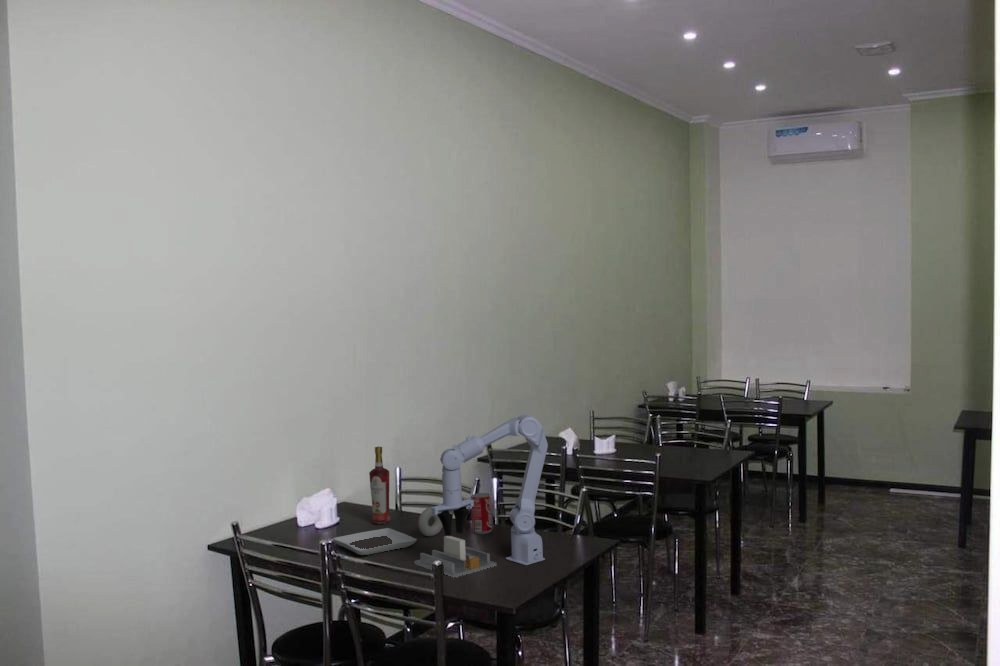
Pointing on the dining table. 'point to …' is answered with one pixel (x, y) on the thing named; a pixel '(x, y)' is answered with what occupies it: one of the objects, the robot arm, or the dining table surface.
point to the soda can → (481, 513)
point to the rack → (457, 562)
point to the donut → (424, 525)
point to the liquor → (379, 489)
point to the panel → (454, 547)
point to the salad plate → (397, 537)
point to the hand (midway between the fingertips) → (453, 534)
